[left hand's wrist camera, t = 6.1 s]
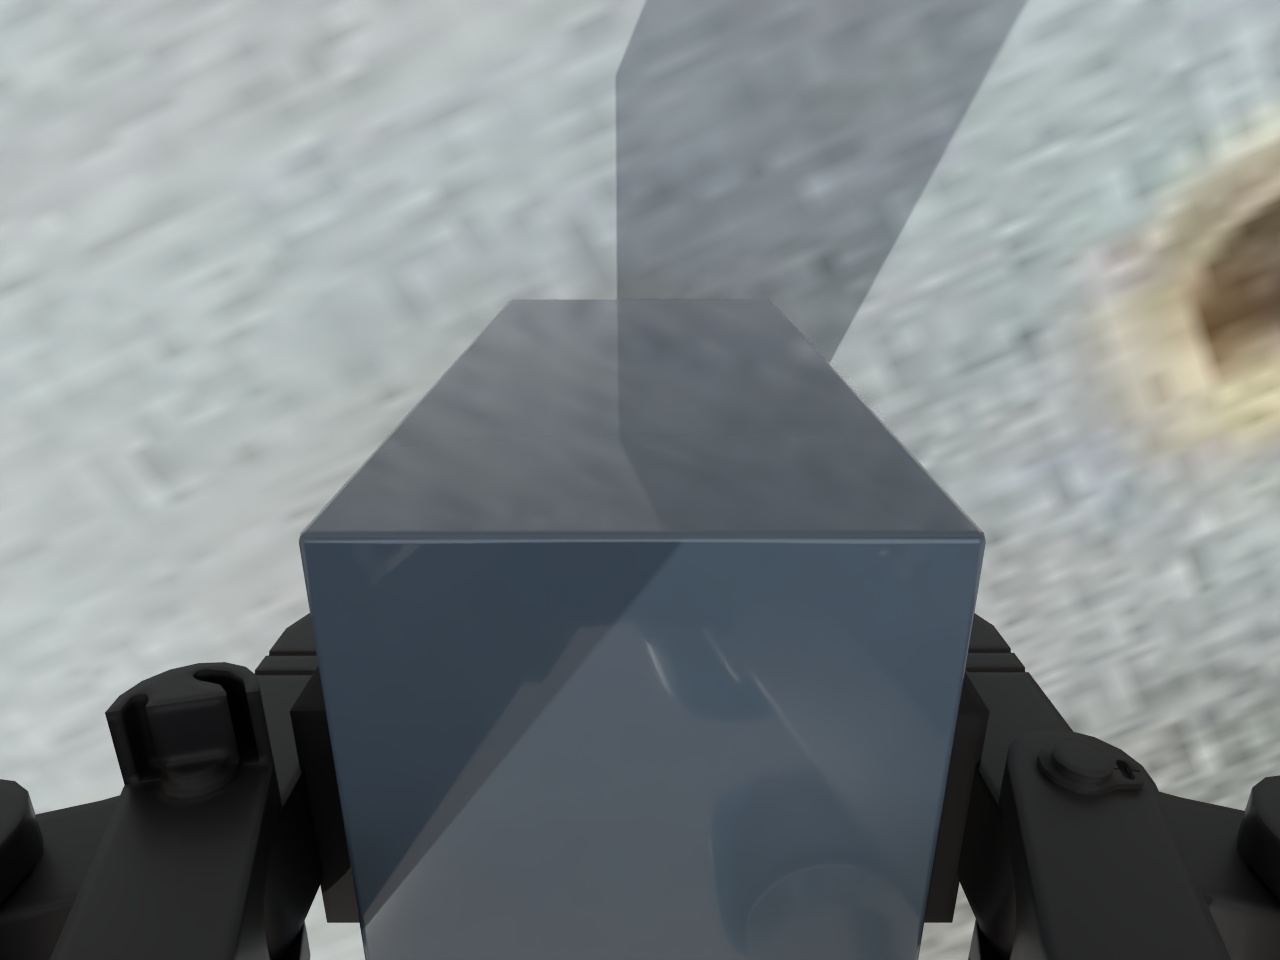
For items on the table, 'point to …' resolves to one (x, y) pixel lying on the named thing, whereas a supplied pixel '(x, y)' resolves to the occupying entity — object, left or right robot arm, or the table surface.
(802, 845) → the brick
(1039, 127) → the table surface
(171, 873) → the left robot arm
